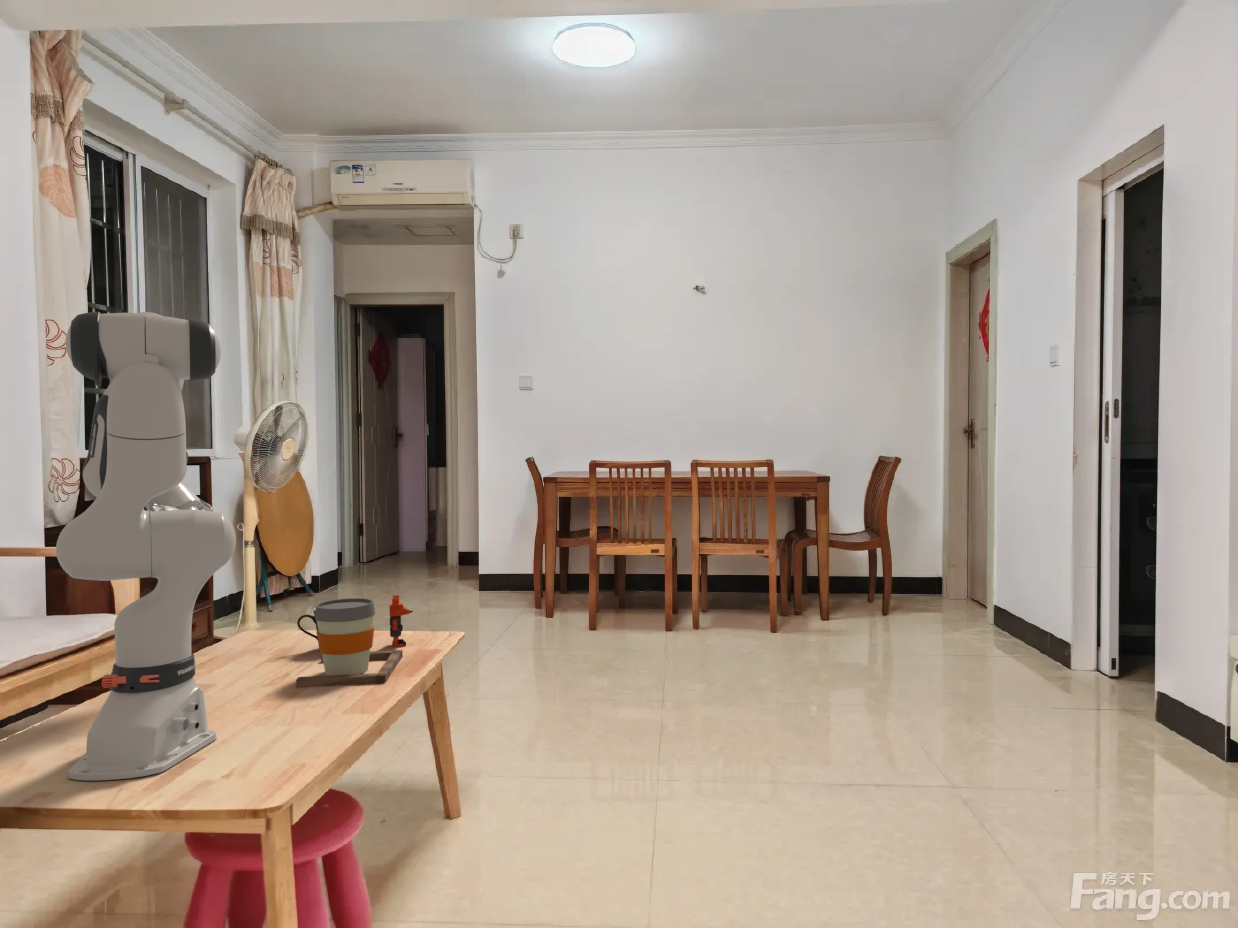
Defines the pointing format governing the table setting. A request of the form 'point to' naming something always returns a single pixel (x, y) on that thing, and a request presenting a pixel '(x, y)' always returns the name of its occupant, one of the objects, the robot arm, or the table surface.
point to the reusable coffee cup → (345, 634)
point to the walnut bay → (380, 677)
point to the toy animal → (397, 621)
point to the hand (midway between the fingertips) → (216, 556)
